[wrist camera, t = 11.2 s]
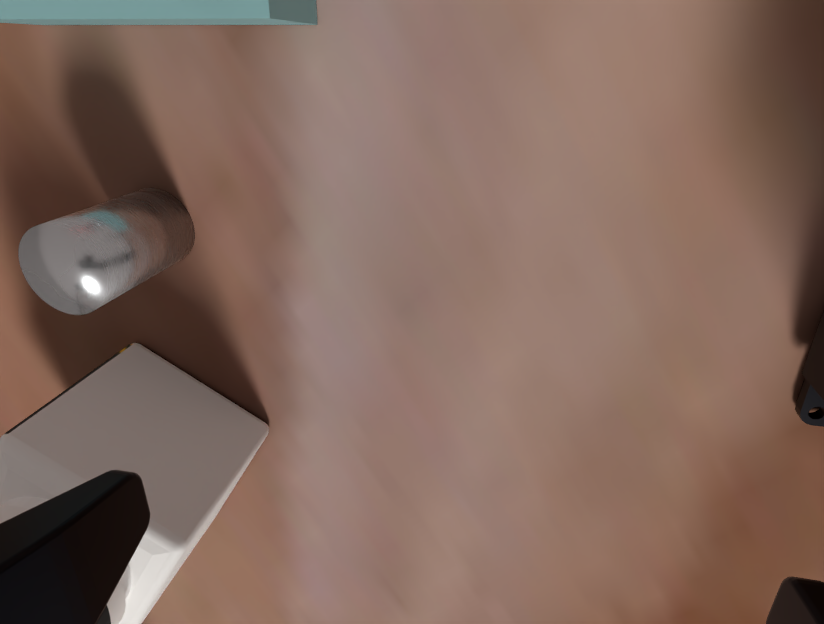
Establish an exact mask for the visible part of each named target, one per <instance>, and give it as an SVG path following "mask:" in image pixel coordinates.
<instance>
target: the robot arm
mask: <svg viewBox="0 0 824 624" xmlns="http://www.w3.org/2000/svg"><path fill="white" fill-rule="evenodd" d="M802 374H803V376H804V377H805V380H804V383H803V386H802V388H801V391H800V394H799V397H798V400H797V402H796V407H795V410H796V412H797V414H798V415H799V417H800V418H801V420H802V421H804V422H805V423H806V424H810V425H815V426H823V427H824V312H823V315H822V317H821V320H820V323H819V326H818V329H817V331H816V334H815V337H814V340H813V343H812V346H811V348H810V351H809V354H808V357H807V360H806V363H805V365H804V368H803V371H802ZM814 407H820V408H819V409H818V410H817V411H815V412H812V413H809V411H810V409H812V408H814ZM149 521H150V509H149V505H148V501H147V497H146V493H145V489H144V485H143V482H142V479H141V477H140V476H139V475H138V474H137V473H134V472H128V471H122V470H110V471H108V472H105V473H103V474H101V475H99V476H97V477H95V478H93V479H91V480H89V481H87V482H85V483H83V484H81V485H79V486H76V487H74V488H72V489H70V490H68V491H66V492H64V493H62V494H60V495H58V496H56V497H54V498H52V499H50V500H48V501H46V502H44V503H42V504H39V505H37V506H35V507H33V508H31V509H29V510H27V511H25V512H23V513H21V514H19V515H17V516H15V517H13V518H11V519H9V520H7V521H4V522H2V523H0V624H96V623H97V621H98V619H99V617H100V616H101V614H102V612H103V610H104V609H105V607H106V605H107V603H108V601H109V599H110V597H111V596H112V594H113V592H114V590H115V588H116V586H117V584H118V583H119V581H120V579H121V577H122V575H123V573H124V571H125V569H126V568H127V566H128V564H129V562H130V560H131V558H132V556H133V555H134V553H135V551H136V549H137V547H138V545H139V543H140V542H141V540H142V538H143V536H144V534H145V532H146V530H147V528H148V525H149ZM766 624H824V582H821V581H817V580H811V579H804V578H798V577H787V578H786V579H784V580H783V582H782V583H781V585H780V588H779V590H778V593H777V595H776V597H775V600H774V602H773V605H772V607H771V610H770V612H769V615H768V617H767V621H766Z"/></svg>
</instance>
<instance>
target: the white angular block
mask: <svg viewBox="0 0 824 624" xmlns="http://www.w3.org/2000/svg"><path fill="white" fill-rule="evenodd" d="M268 432H269V427H268V425H267V424H266V423H265V422H263V421H262V420H260V419H258V418H257V417H255V416H254V415H252V414H251V413H249V412H247V411H246V410H244V409H243V408H241V407H239V406H238V405H236V404H235V403H233V402H231V401H230V400H228V399H227V398H225V397H223V396H222V395H220V394H219V393H217V392H215V391H214V390H212V389H211V388H209V387H207V386H206V385H204V384H203V383H201V382H200V381H198V380H196V379H195V378H193V377H192V376H190V375H188V374H187V373H185V372H184V371H182V370H180V369H179V368H177V367H176V366H174V365H172V364H171V363H169V362H168V361H166V360H164V359H163V358H161V357H160V356H158V355H156V354H155V353H153V352H152V351H150V350H149V349H147V348H145V347H144V346H142V345H141V344H138V343H132V344H130V345H128V346H127V347H125V348H124V349H123V350H121V351H120V352H118V353H117V354H116V355H114V356H113V357H111V358H110V359H109V360H107V361H106V362H104V363H103V364H102V365H100V366H99V367H97V368H96V369H94V370H93V371H92V372H90V373H89V374H87V375H86V376H85V377H83V378H82V379H80V380H79V381H78V382H76V383H75V384H73V385H72V386H71V387H69V388H68V389H66V390H65V391H64V392H62V393H61V394H59V395H58V396H57V397H55V398H54V399H52V400H51V401H50V402H48V403H47V404H45V405H44V406H43V407H41V408H40V409H38V410H37V411H36V412H34V413H33V414H31V415H30V416H29V417H27V418H26V419H24V420H23V421H22V422H20V423H19V424H17V425H16V426H15V427H13V428H12V429H10V430H9V431H8V432H6V433H5V434H4V435H3V436H2V437H1V438H0V523H2V522H4V521H7V520H9V519H11V518H13V517H15V516H17V515H19V514H21V513H23V512H25V511H27V510H29V509H31V508H33V507H35V506H37V505H39V504H42V503H44V502H46V501H48V500H50V499H52V498H54V497H56V496H58V495H60V494H62V493H64V492H66V491H68V490H70V489H72V488H74V487H76V486H79V485H81V484H83V483H85V482H87V481H89V480H91V479H93V478H95V477H97V476H99V475H101V474H103V473H105V472H108V471H110V470H122V471H128V472H134V473H137V474H138V475H139V476H140V477H141V479H142V482H143V485H144V489H145V493H146V497H147V501H148V505H149V509H150V521H149V525H148V528H147V530H146V532H145V534H144V536H143V538H142V540H141V542H140V543H139V545H138V547H137V549H136V551H135V553H134V555H133V556H132V558H131V560H130V562H129V564H128V566H127V568H126V569H125V571H124V573H123V575H122V577H121V579H120V581H119V583H118V584H117V586H116V588H115V590H114V592H113V594H112V596H111V597H110V599H109V601H108V603H107V605H106V607H105V609H104V610H103V612H102V614H101V616H100V617H99V619H98V621H97V623H96V624H142V622H143V621H144V619H145V618H146V616H147V615H148V613H149V612H150V611H151V609H152V608H153V606H154V605H155V603H156V602H157V600H158V599H159V598H160V596H161V595H162V593H163V592H164V590H165V589H166V587H167V586H168V585H169V583H170V582H171V580H172V579H173V577H174V576H175V575H176V573H177V572H178V570H179V569H180V567H181V566H182V564H183V563H184V562H185V560H186V559H187V557H188V556H189V554H190V553H191V551H192V550H193V549H194V547H195V546H196V544H197V543H198V541H199V540H200V538H201V537H202V536H203V534H204V533H205V531H206V530H207V528H208V527H209V525H210V524H211V523H212V521H213V520H214V518H215V517H216V515H217V514H218V512H219V511H220V509H221V507H222V506H223V504H224V503H225V501H226V500H227V498H228V496H229V495H230V493H231V492H232V490H233V488H234V487H235V485H236V484H237V482H238V481H239V479H240V477H241V476H242V474H243V473H244V471H245V470H246V468H247V466H248V465H249V463H250V462H251V460H252V458H253V457H254V455H255V454H256V452H257V451H258V449H259V447H260V446H261V444H262V443H263V441H264V439H265V438H266V436H267V435H268Z"/></svg>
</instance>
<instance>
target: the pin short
mask: <svg viewBox="0 0 824 624" xmlns="http://www.w3.org/2000/svg"><path fill="white" fill-rule="evenodd" d="M194 239H195V232H194V226H193V222H192V220H191V217H190V215H189V213H188V212H187V210H186V209H185V207H184V206H183V205H182V204H181V203H180V201H178V200H177V199H176V198H175V197H174V196H172V195H171V194H169V193H167V192H165V191H163V190H159V189H155V188H146V189H141V190H138V191H136V192H133V193H130V194H127V195H124V196H121V197H118V198H115V199H112V200H109V201H106V202H104V203H101V204H98V205H95V206H92V207H89V208H86V209H83V210H80V211H77V212H74V213H72V214H69V215H66V216H63V217H60V218H57V219H54V220H51V221H48V222H45V223H42V224H40V225H37V226H34V227H32V228H30V229H29V230H28V231H27V232H26V233H25V234H24V235H23V237H22V239H21V241H20V244H19V262H20V266H21V269H22V272H23V274H24V276H25V279H26V280H27V282H28V284H29V285H30V286H31V288H32V289H33V290H34V292H35V293H36V294H37V295H38V296H39V297H40V298H41V299H42V300H43V301H45V302H46V303H47V304H49V305H50V306H52V307H53V308H55V309H57V310H59V311H62V312H64V313H68V314H73V315H83V314H88V313H90V312H92V311H94V310H96V309H98V308H99V307H101V306H103V305H105V304H106V303H108V302H110V301H111V300H113V299H115V298H117V297H118V296H120V295H122V294H124V293H125V292H127V291H129V290H130V289H132V288H134V287H136V286H137V285H139V284H141V283H142V282H144V281H146V280H148V279H149V278H151V277H153V276H155V275H156V274H158V273H160V272H161V271H163V270H165V269H167V268H168V267H170V266H172V265H173V264H175V263H177V262H179V261H180V260H182V259H183V258H185V257H186V256H187V255H188V254H189V253H190V251H191V249H192V247H193V244H194Z"/></svg>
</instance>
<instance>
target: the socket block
mask: <svg viewBox="0 0 824 624" xmlns="http://www.w3.org/2000/svg"><path fill="white" fill-rule="evenodd" d="M0 23H17V24H34V25H317V8H316V0H0Z"/></svg>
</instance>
